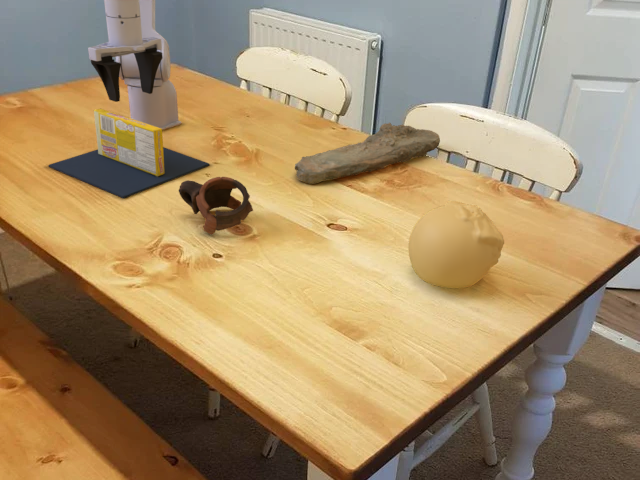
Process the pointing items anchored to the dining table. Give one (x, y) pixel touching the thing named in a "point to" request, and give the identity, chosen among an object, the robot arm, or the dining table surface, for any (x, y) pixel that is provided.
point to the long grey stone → (368, 154)
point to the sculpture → (454, 245)
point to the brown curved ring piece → (216, 202)
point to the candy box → (130, 141)
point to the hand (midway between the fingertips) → (131, 96)
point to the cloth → (125, 172)
